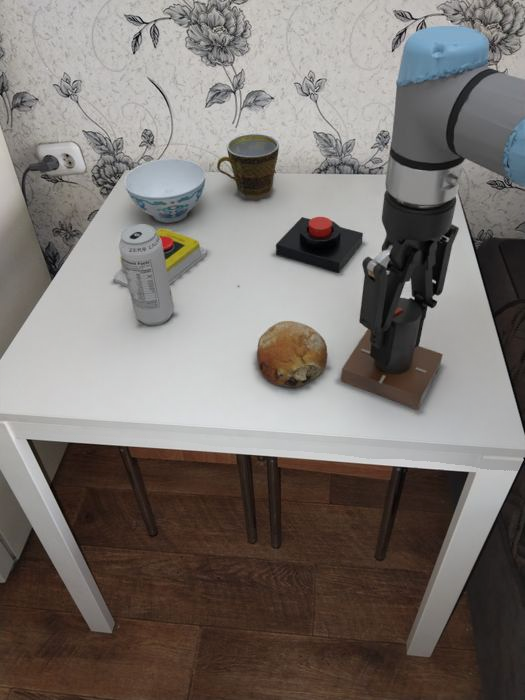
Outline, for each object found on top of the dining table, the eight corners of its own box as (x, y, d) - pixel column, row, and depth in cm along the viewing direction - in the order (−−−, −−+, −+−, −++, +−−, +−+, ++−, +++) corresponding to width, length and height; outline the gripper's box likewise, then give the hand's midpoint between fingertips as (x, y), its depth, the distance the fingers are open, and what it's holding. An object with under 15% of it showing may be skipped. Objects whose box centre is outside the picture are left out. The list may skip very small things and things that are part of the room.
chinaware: (215, 195, 119) (211, 158, 114) (201, 235, 109) (197, 198, 103) (142, 193, 121) (136, 157, 115) (122, 233, 110) (114, 196, 105)
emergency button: (206, 231, 101) (148, 276, 93) (209, 253, 104) (153, 298, 96) (165, 217, 105) (106, 258, 97) (169, 238, 108) (111, 280, 100)
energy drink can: (182, 310, 93) (168, 228, 83) (157, 332, 90) (139, 250, 79) (153, 298, 96) (136, 217, 85) (128, 319, 92) (107, 237, 82)
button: (335, 228, 102) (336, 219, 101) (325, 240, 100) (326, 231, 98) (314, 223, 104) (315, 214, 102) (304, 234, 101) (304, 225, 100)
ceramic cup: (262, 175, 124) (260, 129, 117) (289, 195, 118) (289, 147, 111) (208, 194, 120) (203, 147, 113) (234, 215, 113) (230, 166, 106)
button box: (362, 243, 105) (363, 223, 102) (338, 273, 99) (340, 253, 96) (301, 227, 109) (302, 208, 107) (276, 254, 103) (275, 235, 101)
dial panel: (439, 366, 82) (443, 352, 81) (418, 410, 77) (421, 397, 75) (366, 341, 87) (368, 327, 85) (340, 381, 81) (341, 368, 79)
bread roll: (329, 371, 87) (335, 320, 85) (317, 397, 78) (324, 340, 75) (264, 360, 89) (269, 309, 87) (245, 384, 80) (250, 328, 77)
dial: (392, 343, 82) (401, 290, 76) (419, 363, 79) (430, 310, 73) (366, 358, 80) (372, 305, 74) (392, 379, 77) (402, 326, 71)
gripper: (386, 237, 56) (365, 399, 73) (504, 178, 64) (461, 336, 80) (333, 207, 61) (324, 365, 77) (449, 154, 68) (419, 308, 85)
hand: (394, 350), depth 78 cm, fingers closed on dial, 5 cm apart
